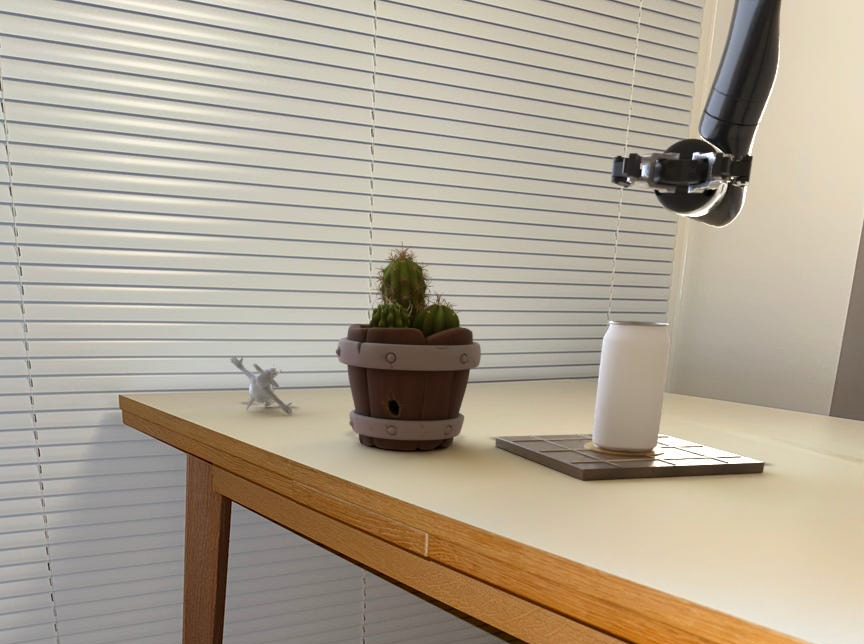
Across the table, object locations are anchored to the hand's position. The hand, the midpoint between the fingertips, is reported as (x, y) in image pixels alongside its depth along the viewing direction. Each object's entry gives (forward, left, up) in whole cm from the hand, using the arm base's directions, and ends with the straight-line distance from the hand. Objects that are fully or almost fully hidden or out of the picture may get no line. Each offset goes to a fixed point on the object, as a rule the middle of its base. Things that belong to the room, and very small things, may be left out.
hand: (674, 164), depth 97 cm
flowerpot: (+26, -4, -28) cm, 39 cm away
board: (+7, +8, -28) cm, 30 cm away
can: (+7, +8, -27) cm, 29 cm away
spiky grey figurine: (+36, -30, -28) cm, 55 cm away
